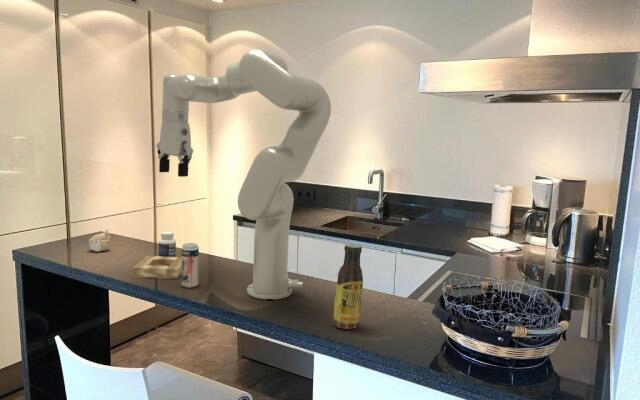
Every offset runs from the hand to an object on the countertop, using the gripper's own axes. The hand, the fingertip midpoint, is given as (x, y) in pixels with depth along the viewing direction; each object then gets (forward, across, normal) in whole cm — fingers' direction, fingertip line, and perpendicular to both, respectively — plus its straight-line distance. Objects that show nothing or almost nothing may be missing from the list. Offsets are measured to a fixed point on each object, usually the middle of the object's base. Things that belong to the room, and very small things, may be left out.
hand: (173, 174), depth 144 cm
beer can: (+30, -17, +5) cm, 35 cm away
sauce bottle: (+28, -65, -5) cm, 71 cm away
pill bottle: (+31, +8, -4) cm, 32 cm away
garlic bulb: (+32, +34, +6) cm, 47 cm away
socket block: (+30, 0, +3) cm, 30 cm away
